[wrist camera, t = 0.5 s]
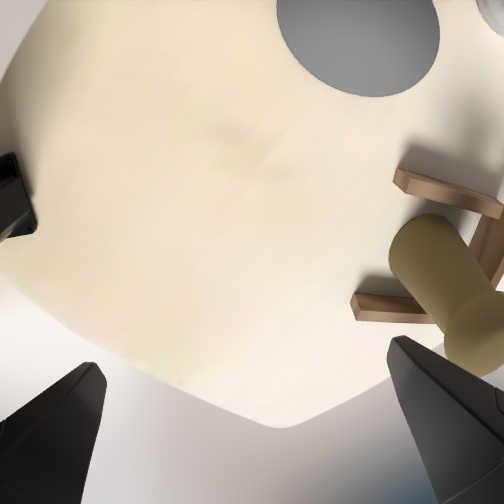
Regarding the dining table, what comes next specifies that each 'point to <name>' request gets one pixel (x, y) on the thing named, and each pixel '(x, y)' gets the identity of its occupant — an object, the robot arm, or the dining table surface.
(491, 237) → the holder
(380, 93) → the coaster
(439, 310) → the cork
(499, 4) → the rook chess piece
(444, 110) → the dining table surface
